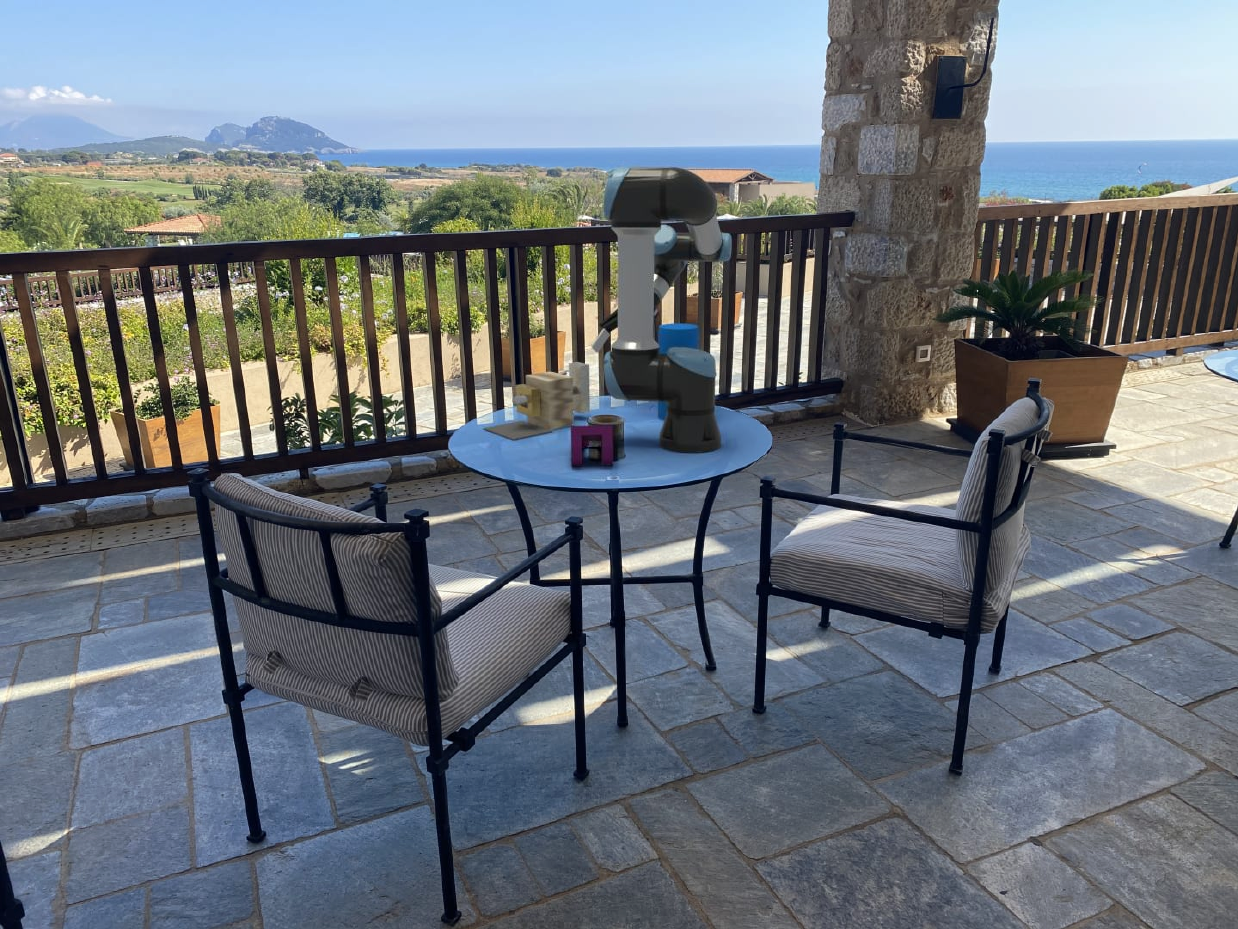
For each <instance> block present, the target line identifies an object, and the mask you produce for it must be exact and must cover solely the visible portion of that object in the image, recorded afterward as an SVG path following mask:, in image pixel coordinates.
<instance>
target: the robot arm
mask: <svg viewBox="0 0 1238 929" xmlns="http://www.w3.org/2000/svg"><path fill="white" fill-rule="evenodd" d="M607 178H608V179H607V180H606V183H605V184H606V185H605V189H604V194H603V202H602V203H603V205H602V206H603V207H602V208H603V216H604V219H605V220H606V221H609V222H611V231H613V232H614V234H616V236H617V308H616V309H615V310H614V311H612V312H611V313H610V314H609V315H608V316H606V318H605V319H603V320H601V322H600V323H599V324H598V326H599V327H600V328H601V329H600V332H599V333H598V335H597V336H596V338H595V340H594V341H593V343H592V344H591V346H590V348H592V349H593V350H594V352H595V353H599V352H600V351H601V349H602V348H603V346H604V344H605V343H606V341H607V340H608V339H609V337H610V336H611V334H610V333H611V332H613V331H614V330H617V339H616V340H615V341H614V342H613V343H612V344H611V347H610V348H611V350H609V351H607V352H606V353H605V354H604V360H603V362H604V364H603V373H604V374H603V375H604V381H605V386H606V389H607V392H608V394H609V395H610V396H611V397H612V398H613V399H615V400H619V401H620V400H621V401H627V402H631V401H636V402H637V401H638V402H656V403H658V402H667V414H666V417H665V420H664V421H663V424H662V427H661V429H660V431H659V432H660V433H659V435H658V436H659V438H658V440H659V446H660V447H662V448H663V449H665V450H669V451H672V452H679V453H706V452H710V451H715V450H716V449H719V448H720V447H721V446H722V445H721V444H722V434H721V432H720V428H719V424H718V421H717V418H716V414H715V412H716V379H717V378H716V377H717V375H718V374H717V368H716V367H717V366H716V365H717V364H716V359H715V356H714V355H713V354H711V353H709V352H707V351H705V350H701V349H699V348H698V349H693V348H685V347H680V348H679V347H672V348H669V349H668V351H667V354H661V353H659V344H658V341H656V340H655V338H654V329H655V325H656V320H657V317H658V316H659V314H660V312H659V311H658V307H659V306H660V304H661V301H662V300H663V299H664V297H665V296H666V295H667V293H668V292H669V290H670V289H671V287H672V286H673V284H674V283H675V281H676V280H677V278H678V277H679V275H680V274H681V273H682V272H683V271H684V270H685V267H686V265H687V264H688V262H706V263H707V262H715V263H721V262H728V261H729V260H731V257H732V245H733V243H732V242H733V240H732V235H731V234H730V233H728V232H722V231H721V229H720V225H719V222H718V218H717V209H718V201H717V196H716V193H715V190H713V188H712V187H711V186H710V185H709V183H708V182H707V181H706V180H705V179H703V178H702V177H701V176H699V175H697V174H696V173H694V172H693V171H690V170H688V169H685V168H682V167H676V166H673V167H671V166H670V167H644V166H642V167H639V166H637V167H635V166H634V167H633V166H630V167H621V168H620V167H618V168H616V169H615V168H614V169H613V170H612V172H610V174H609V175H608V177H607ZM662 221H682V222H683V223H684V224H686V226H687V229H688V232H676V231H675V229H674V228H673V227H672V226H671V225H667V224H662Z"/></svg>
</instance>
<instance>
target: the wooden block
mask: <svg viewBox="0 0 1238 929" xmlns="http://www.w3.org/2000/svg"><path fill="white" fill-rule="evenodd" d="M525 385H529V386H532V387H536V388H539V392H541V401H540V416H536V417H530V416H527V415H526V417H527V418H526V419H527V420H526V422H528V423H531V424H534V425H537V426H540V427H542V428H545V429H548V430H551V431H553V430H558V429H561V428H562V427H563V428H566V427H565V426H568V427H570V426H569V425H572V424H575V421H574V411H573V377H570V376H569V375H566V374H561V373H557V372H553V371H543V372H539V373H533V374H526V375H525ZM572 426H573V425H572ZM563 428H562V429H563Z"/></svg>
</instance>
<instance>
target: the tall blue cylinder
mask: <svg viewBox="0 0 1238 929" xmlns="http://www.w3.org/2000/svg"><path fill="white" fill-rule="evenodd" d="M699 335H700V331H699V326H698V325H697V324H692V323H665V324H661V325H659V326H658V333H657V343H658V344H659V353H661V354H667V351H668V349H669V348H672V347H679V348H680V347H685V348H693V349H698V350H699V343H700V342H699V338H700V336H699ZM666 414H667V402H657V418H658V417H659V418H660V419H659V418H658V419H659V420H661V419H662V420H661V421H663V420H665V417H666Z"/></svg>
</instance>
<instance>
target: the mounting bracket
mask: <svg viewBox="0 0 1238 929" xmlns="http://www.w3.org/2000/svg"><path fill="white" fill-rule="evenodd" d="M613 434H614V432H613V425H612V424H611V425H610V424H609V425H572V426H570V456H571V460H570V461H571V464H570V465H571V467H572V466H573V467H579V466H583V448H582V447H585V448H589V447H588V446H589V441H598V442H599V441H601V447H600V449H601V450H600V451H601V452H600V453H601V465H602V466H613V465H614V441H613V440H614V437H613V436H614V435H613Z"/></svg>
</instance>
